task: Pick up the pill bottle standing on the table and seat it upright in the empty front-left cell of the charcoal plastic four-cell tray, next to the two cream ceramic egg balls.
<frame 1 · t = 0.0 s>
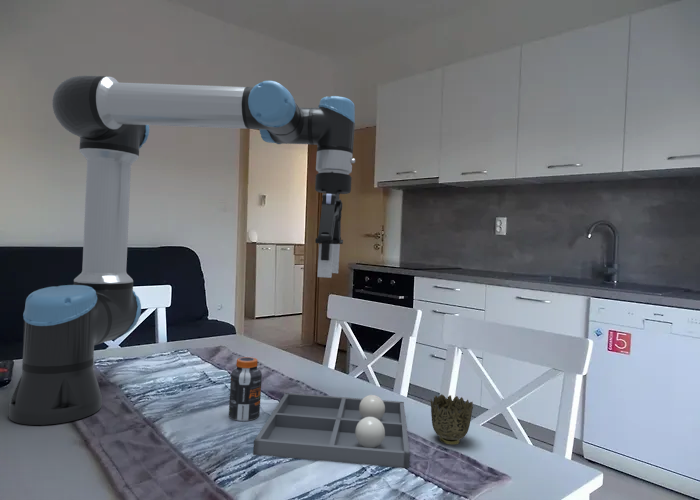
hand: (328, 275, 102), 28 cm above the table, fingers open, 13 cm apart
egg ball b: (371, 421, 93), point 1 cm above the table, touching egg tray
egg ball a: (369, 447, 81), point 1 cm above the table, touching egg tray
egg tray: (337, 436, 88), on the table
cup: (449, 446, 86), on the table
pill bottle: (244, 417, 95), on the table
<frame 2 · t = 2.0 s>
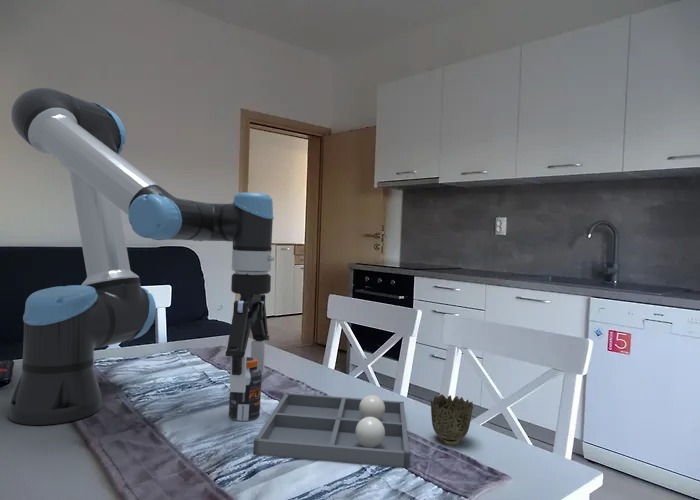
hand: (248, 381, 95), 7 cm above the table, fingers open, 13 cm apart
nothing on the table moved.
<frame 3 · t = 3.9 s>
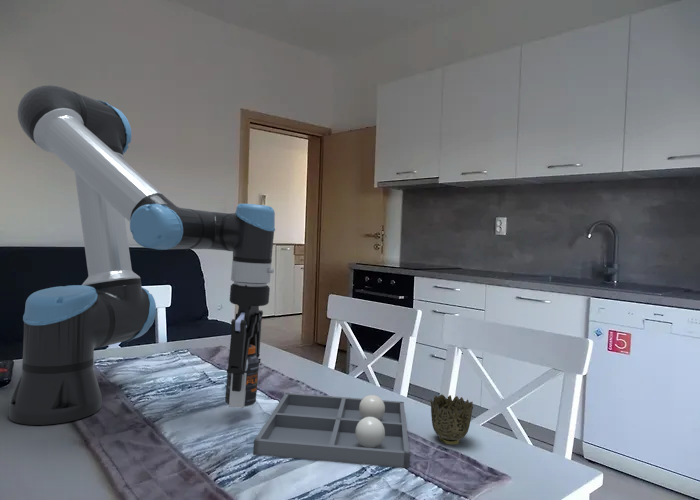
hand: (241, 400, 95), 3 cm above the table, fingers closed on pill bottle, 6 cm apart
pill bottle: (240, 403, 95), point 2 cm above the table, touching gripper
everything else where it was.
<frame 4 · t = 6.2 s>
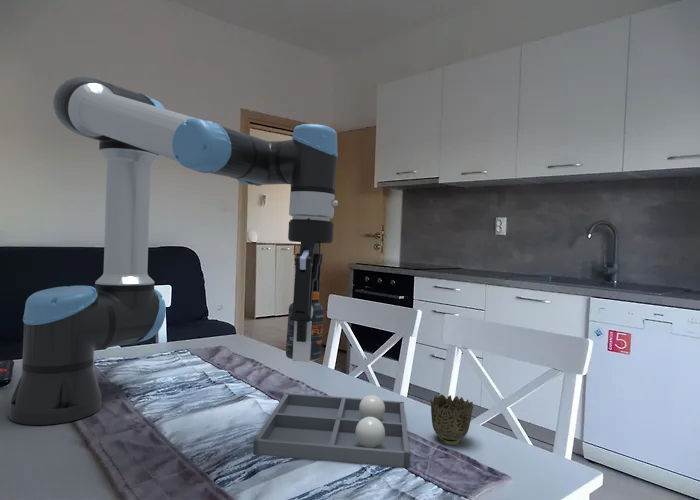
hand: (304, 355, 82), 16 cm above the table, fingers closed on pill bottle, 6 cm apart
pill bottle: (303, 358, 82), point 15 cm above the table, touching gripper
everything else where it was.
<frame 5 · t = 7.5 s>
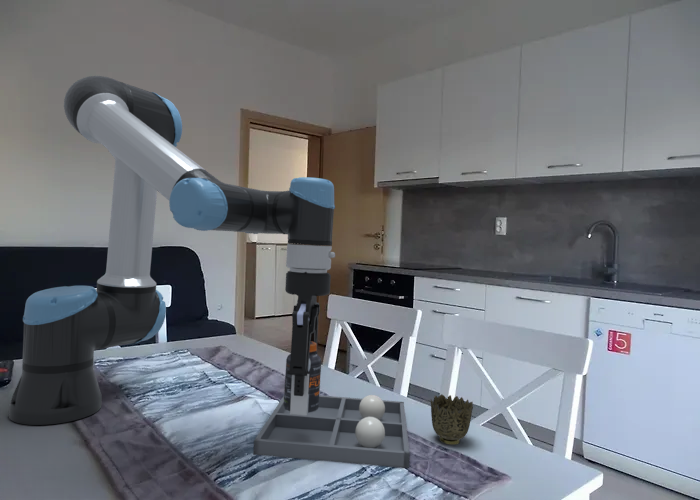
hand: (302, 406, 82), 7 cm above the table, fingers closed on pill bottle, 6 cm apart
pill bottle: (301, 409, 82), point 6 cm above the table, touching gripper
everything else where it was.
when the fingers open (3 cm above the table, at t = 8.6 s): pill bottle drops 2 cm, resting on egg tray.
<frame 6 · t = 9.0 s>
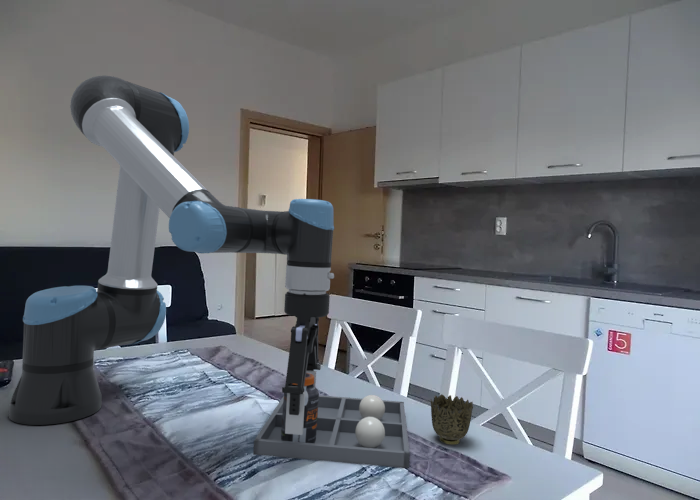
hand: (301, 419, 82), 5 cm above the table, fingers open, 12 cm apart
pill bottle: (298, 442, 82), point 1 cm above the table, touching egg tray
everything else where it was.
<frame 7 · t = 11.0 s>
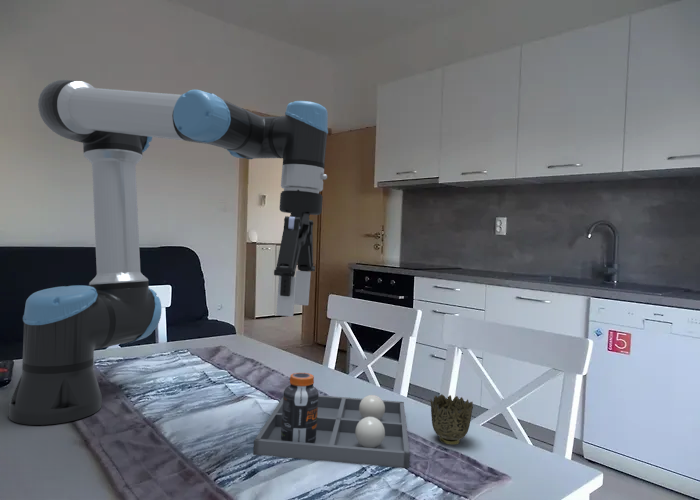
hand: (293, 309, 87), 22 cm above the table, fingers open, 13 cm apart
nothing on the table moved.
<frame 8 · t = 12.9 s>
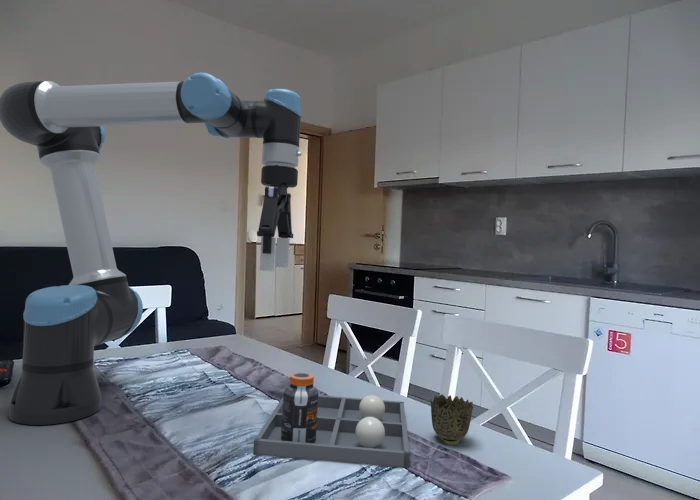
hand: (274, 269, 101), 29 cm above the table, fingers open, 13 cm apart
nothing on the table moved.
at the end: pill bottle inside the target area on the egg tray (0.1 cm from its centre), point 0.8 cm above the egg tray's base; pill bottle tilted 0°; the gripper is holding nothing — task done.
